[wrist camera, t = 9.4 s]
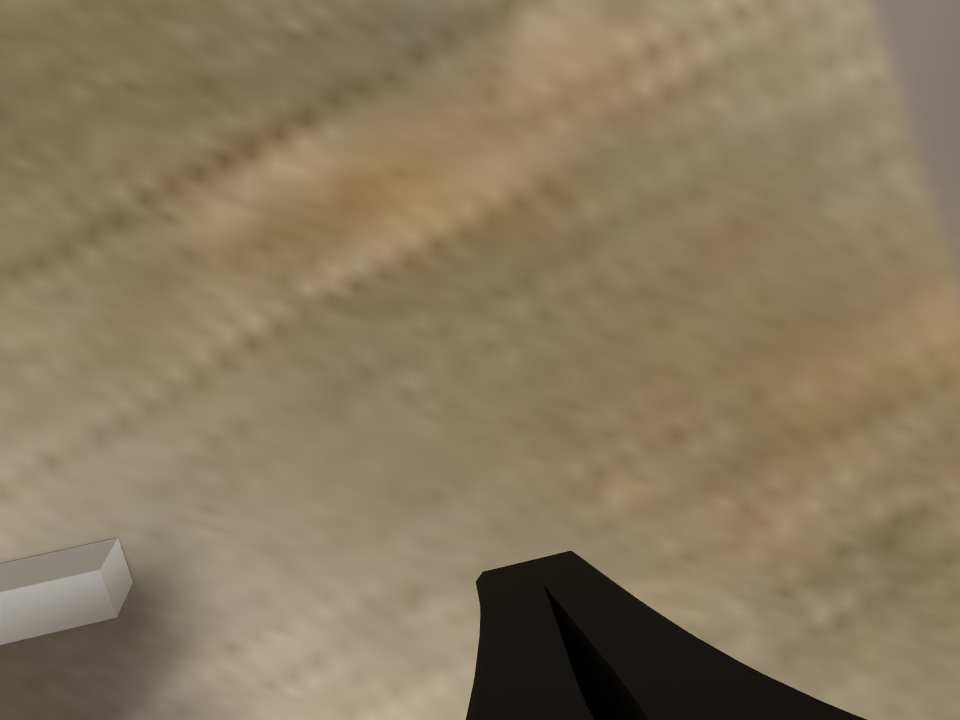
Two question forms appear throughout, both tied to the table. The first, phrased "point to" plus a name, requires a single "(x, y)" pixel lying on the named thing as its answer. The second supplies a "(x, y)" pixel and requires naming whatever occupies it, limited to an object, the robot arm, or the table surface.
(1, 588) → the frame
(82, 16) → the table surface
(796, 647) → the table surface
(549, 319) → the table surface
